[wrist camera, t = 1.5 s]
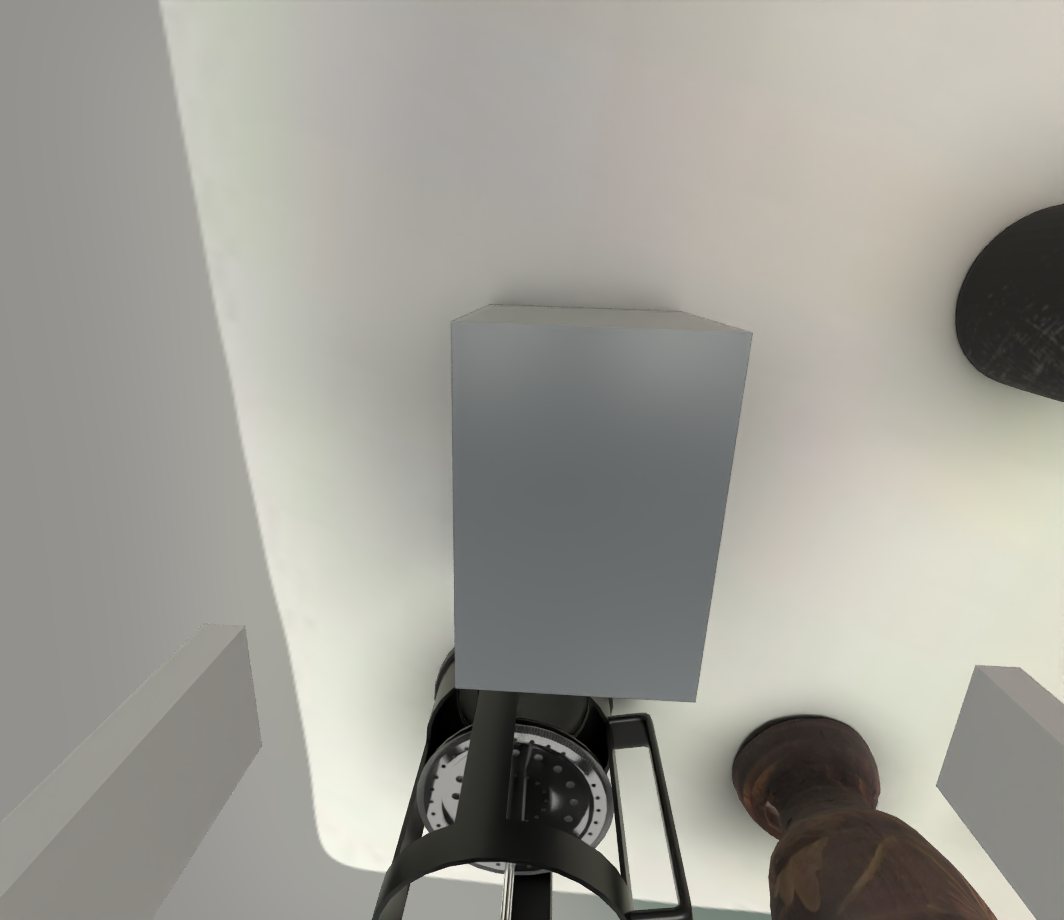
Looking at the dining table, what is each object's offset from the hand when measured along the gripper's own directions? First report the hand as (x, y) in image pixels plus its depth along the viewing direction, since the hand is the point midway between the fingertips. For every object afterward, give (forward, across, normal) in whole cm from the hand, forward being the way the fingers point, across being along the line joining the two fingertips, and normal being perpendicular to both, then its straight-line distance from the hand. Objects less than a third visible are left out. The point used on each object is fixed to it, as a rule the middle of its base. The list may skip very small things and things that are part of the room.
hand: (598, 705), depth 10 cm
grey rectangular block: (+16, 0, 0) cm, 16 cm away
